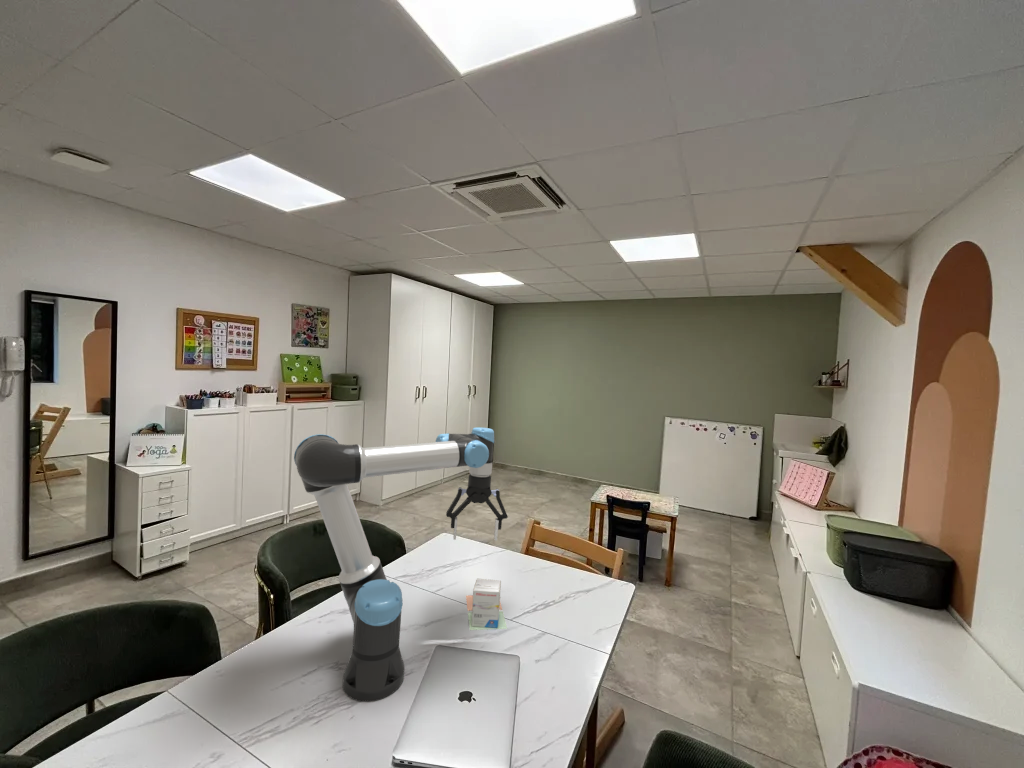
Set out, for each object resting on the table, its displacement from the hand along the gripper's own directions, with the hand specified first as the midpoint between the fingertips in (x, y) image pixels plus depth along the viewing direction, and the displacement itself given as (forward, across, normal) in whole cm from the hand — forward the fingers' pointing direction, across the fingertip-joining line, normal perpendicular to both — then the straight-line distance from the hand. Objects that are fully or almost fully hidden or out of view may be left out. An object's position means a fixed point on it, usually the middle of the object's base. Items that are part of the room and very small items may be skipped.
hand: (475, 538), depth 135 cm
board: (+27, -6, -4) cm, 28 cm away
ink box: (+26, -5, +2) cm, 27 cm away
